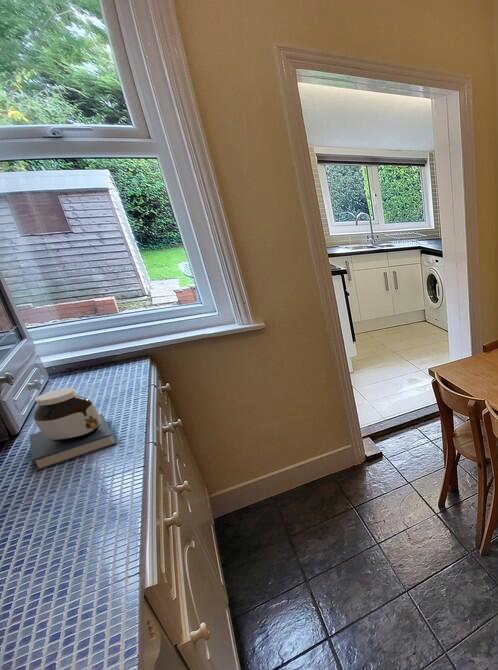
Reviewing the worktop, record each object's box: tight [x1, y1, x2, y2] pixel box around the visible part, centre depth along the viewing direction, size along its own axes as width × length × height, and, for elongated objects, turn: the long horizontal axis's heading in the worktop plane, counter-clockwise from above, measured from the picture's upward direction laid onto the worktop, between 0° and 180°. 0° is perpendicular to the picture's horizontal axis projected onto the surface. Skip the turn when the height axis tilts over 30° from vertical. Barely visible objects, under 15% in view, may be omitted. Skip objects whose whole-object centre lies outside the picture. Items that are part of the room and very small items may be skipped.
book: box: [29, 413, 117, 471], centre depth 105 cm, size 18×14×3 cm
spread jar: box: [33, 387, 101, 443], centre depth 102 cm, size 12×11×12 cm
